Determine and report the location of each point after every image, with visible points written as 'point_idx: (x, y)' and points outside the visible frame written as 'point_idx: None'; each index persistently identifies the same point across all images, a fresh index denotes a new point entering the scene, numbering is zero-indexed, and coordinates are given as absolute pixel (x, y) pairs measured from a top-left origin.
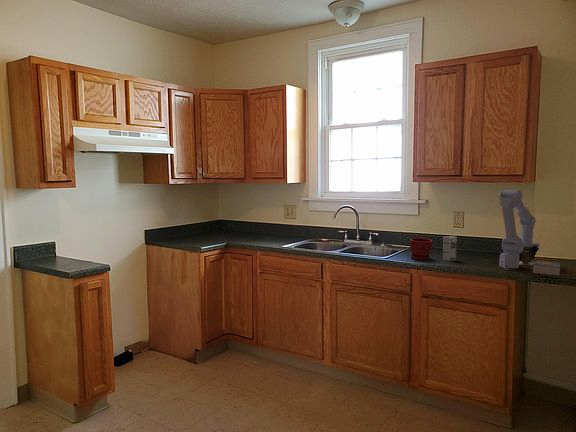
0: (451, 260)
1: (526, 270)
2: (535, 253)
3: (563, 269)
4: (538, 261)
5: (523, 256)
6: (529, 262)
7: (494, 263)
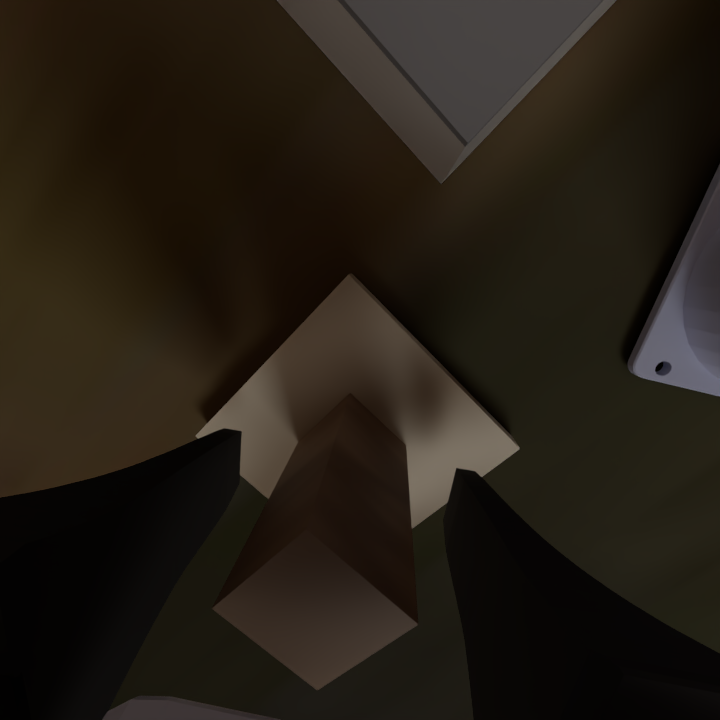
0: None
1: (685, 87)
2: (127, 472)
3: (8, 9)
4: (445, 9)
5: (401, 512)
6: (254, 468)
7: (667, 610)
